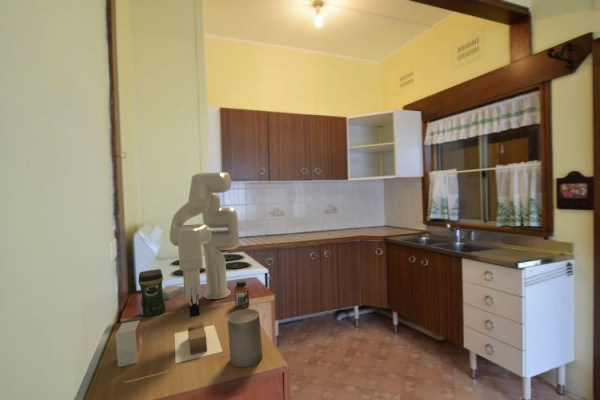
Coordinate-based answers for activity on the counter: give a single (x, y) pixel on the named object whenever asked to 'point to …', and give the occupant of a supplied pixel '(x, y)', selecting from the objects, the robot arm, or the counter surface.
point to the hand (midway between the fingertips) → (194, 315)
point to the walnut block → (197, 338)
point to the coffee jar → (151, 292)
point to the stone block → (171, 291)
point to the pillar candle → (244, 337)
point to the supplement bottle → (241, 294)
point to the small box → (128, 343)
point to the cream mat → (184, 348)
